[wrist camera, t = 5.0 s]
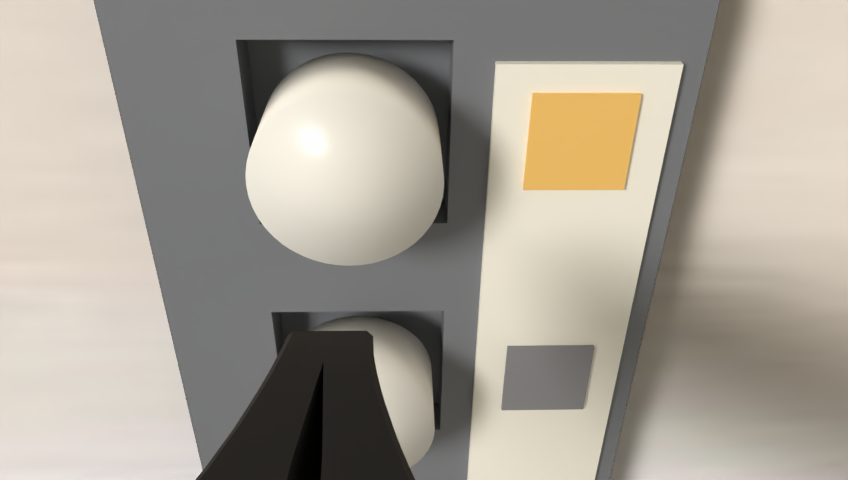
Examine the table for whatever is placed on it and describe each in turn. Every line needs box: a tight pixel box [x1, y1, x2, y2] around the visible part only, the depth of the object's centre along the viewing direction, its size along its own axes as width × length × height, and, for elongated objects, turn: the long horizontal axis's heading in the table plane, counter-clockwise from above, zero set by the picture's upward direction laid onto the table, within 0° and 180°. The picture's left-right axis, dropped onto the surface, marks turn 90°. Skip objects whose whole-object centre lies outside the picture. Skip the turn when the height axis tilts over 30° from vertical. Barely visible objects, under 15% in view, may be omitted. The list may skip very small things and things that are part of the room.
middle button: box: [310, 316, 435, 467], centre depth 22 cm, size 4×4×2 cm
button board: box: [94, 0, 720, 480], centre depth 24 cm, size 24×14×2 cm, turn 179°
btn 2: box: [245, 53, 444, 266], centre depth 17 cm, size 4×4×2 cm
